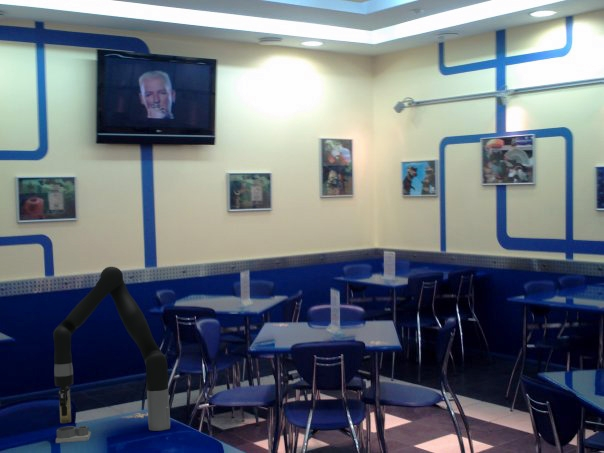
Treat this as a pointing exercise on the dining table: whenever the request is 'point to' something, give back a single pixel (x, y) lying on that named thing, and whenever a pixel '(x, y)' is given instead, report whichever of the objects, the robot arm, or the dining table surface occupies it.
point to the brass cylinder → (67, 418)
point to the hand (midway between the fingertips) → (65, 414)
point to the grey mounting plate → (72, 434)
